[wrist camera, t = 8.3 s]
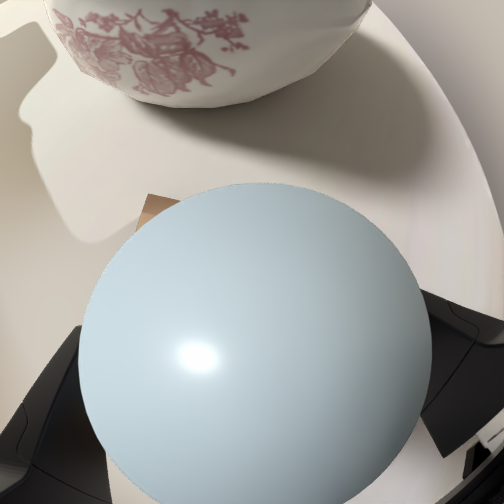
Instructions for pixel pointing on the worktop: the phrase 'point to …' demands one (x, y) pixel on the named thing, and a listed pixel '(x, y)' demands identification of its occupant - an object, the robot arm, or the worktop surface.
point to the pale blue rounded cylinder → (255, 350)
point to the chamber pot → (202, 45)
